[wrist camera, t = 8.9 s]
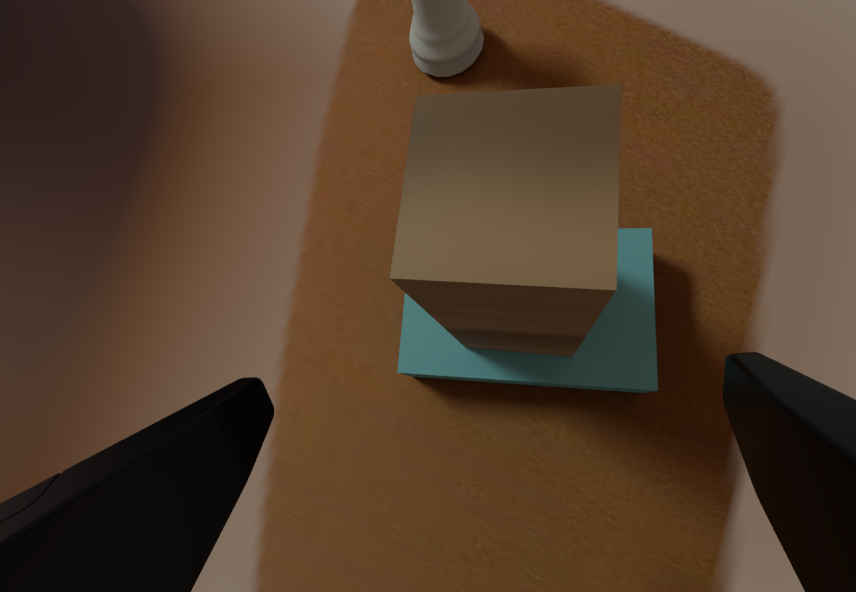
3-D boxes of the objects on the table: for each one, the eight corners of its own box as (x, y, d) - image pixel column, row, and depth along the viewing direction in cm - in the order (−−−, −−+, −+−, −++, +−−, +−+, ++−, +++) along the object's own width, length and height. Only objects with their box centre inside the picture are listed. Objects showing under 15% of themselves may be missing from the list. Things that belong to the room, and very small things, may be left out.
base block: (643, 393, 20) (657, 390, 18) (411, 376, 23) (397, 372, 20) (639, 248, 22) (651, 228, 19) (423, 248, 24) (411, 231, 22)
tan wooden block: (571, 357, 19) (616, 290, 8) (465, 347, 20) (389, 278, 10) (576, 255, 20) (621, 83, 9) (475, 251, 21) (415, 95, 11)
